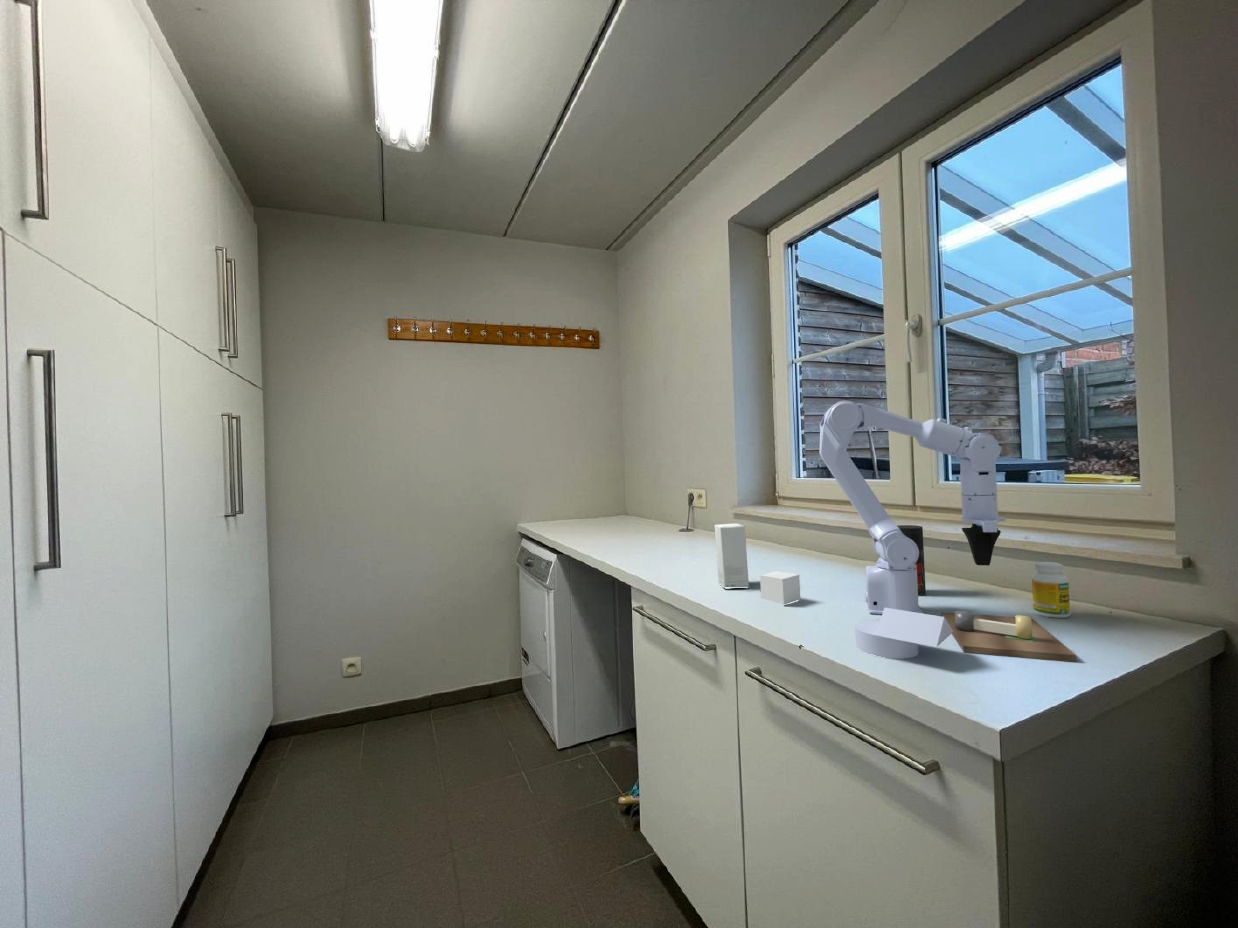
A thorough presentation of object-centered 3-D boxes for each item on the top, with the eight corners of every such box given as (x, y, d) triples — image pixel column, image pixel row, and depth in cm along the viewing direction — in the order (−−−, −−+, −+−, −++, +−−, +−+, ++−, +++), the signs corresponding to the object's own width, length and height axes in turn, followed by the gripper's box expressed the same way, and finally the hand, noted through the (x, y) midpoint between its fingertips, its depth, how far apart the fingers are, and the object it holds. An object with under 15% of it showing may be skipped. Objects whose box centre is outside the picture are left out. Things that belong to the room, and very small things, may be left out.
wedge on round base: (954, 652, 81) (868, 635, 90) (952, 610, 81) (866, 597, 90) (937, 670, 75) (847, 649, 84) (935, 624, 75) (845, 608, 84)
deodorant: (926, 590, 118) (923, 525, 118) (925, 596, 113) (922, 528, 113) (896, 588, 121) (893, 524, 121) (894, 594, 116) (891, 528, 116)
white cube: (761, 601, 115) (759, 574, 115) (778, 596, 119) (776, 570, 119) (783, 606, 110) (782, 578, 110) (800, 601, 114) (799, 574, 114)
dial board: (963, 652, 81) (963, 645, 81) (941, 617, 98) (941, 611, 98) (1076, 661, 75) (1076, 654, 75) (1031, 623, 93) (1031, 617, 93)
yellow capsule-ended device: (953, 628, 88) (953, 609, 88) (957, 624, 90) (956, 605, 90) (1031, 641, 81) (1030, 620, 81) (1033, 636, 83) (1032, 615, 83)
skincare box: (749, 589, 126) (746, 526, 127) (722, 590, 127) (719, 527, 127) (741, 581, 135) (738, 522, 135) (716, 582, 135) (713, 523, 135)
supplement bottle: (1039, 608, 101) (1037, 559, 101) (1074, 614, 96) (1072, 563, 96) (1028, 614, 98) (1026, 563, 98) (1064, 620, 93) (1061, 567, 93)
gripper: (1015, 497, 91) (1019, 573, 91) (993, 491, 105) (996, 558, 105) (969, 497, 94) (972, 571, 94) (952, 492, 108) (955, 557, 108)
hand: (982, 564), depth 100 cm, fingers closed
